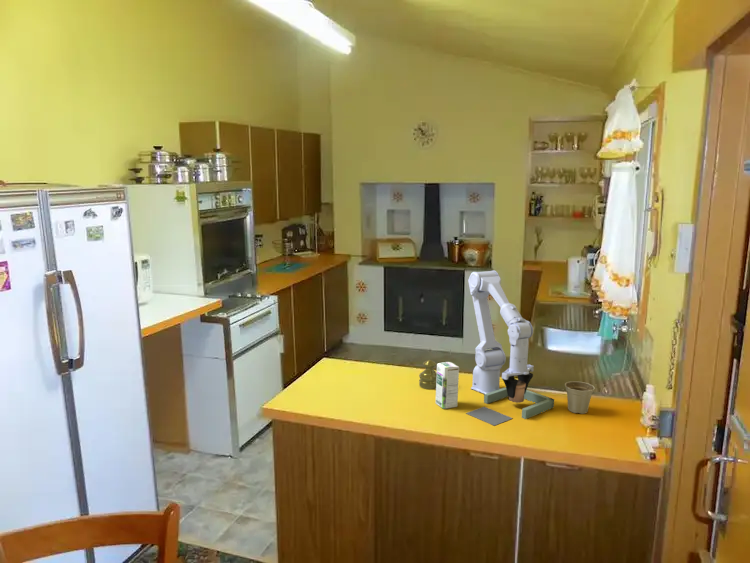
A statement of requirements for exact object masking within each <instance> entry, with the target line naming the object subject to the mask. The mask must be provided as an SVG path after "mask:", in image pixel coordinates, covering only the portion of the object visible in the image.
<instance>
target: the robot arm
mask: <svg viewBox="0 0 750 563" xmlns="http://www.w3.org/2000/svg"><path fill="white" fill-rule="evenodd" d="M467 281H468V287H469V292H470V296H471V297H472V303H473V308H474V314H475V318H476V319H475V320H476V325H477V329H478V335H479V336H478V337H479V340H480V341H479V342H480V343H478V345H477V346H476V347H475V349H474V350H475V355H474V357H475V358H474V360H475V363H476V365H475V367H474V368H473V371H472V386H471V387H470V389H471V390H473V391H476V392H478V393H481V394H483V395H484V394H487V393H490V392H493V391H496V390H499V389H501V388H500V377H501V379H502V381H503V384H504V386H505V387H506V389H507V394H508V397H507V398H509V397H511V398H514V396H515V390H516V386H517V383H518V381H523V382H525V383H526V387H525V391H524V394H525V393H526V390H528V386H529V384H530V382H531V380H532V379H533V377H534V374H533V373H531V372H534V367H535V366H534V365H533V364H532V365H531V364H528V357H529V355H528V354H529V339H531V337H532V336H533V334H534V327H533V325H532V323H531V321H529V320H526V319H525V318H524V317H522V315H521V313H520V312H519V309H518V308H517V306H516V305H515V304H514V303H510V301H509V299H508V298H507V295H506V292H505V291H504V289H503V287H502V285H501V284H502V279H501V277H500V275H499V273H498V271H496V270H486V271H472V272H471V273H470V275H469V278H468V279H467ZM489 295H490V296H492V298H493V299H494V300H495V302H496V303H497V304H498V306H499V307H500V311H499V314H500V316H501V318H502V319H503V321H504V322H505V324H506V326H507V327H508V329H507V335H508V339H509V341H508V342H509V344H510V348H509V349H510V351H509V352H510V354H509V367H508V368H507V369H506V370H505V371H503V372H501V369H503V366H504V365H505V363H506V361H507V358H506V357H507V356H506V354H505V351H504V349H503V345H502V343H500V342H498V341H497V340H496V337H495V332H494V327H493V322H492V317H491V310H490V306H489V300H488V297H489ZM515 377H517V379H516V378H515Z"/></svg>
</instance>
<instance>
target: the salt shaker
mask: <svg viewBox="0 0 750 563" xmlns="http://www.w3.org/2000/svg"><path fill="white" fill-rule="evenodd" d="M422 365H423V366H424V367H425V369H424V370H423V371H422V372H420V373H419V381H418V382H419V387H420V388H422V389H426V390H436V379H437V371H436V370H434V368H435V367H437V363H436V362H435V360H432V359H427V360H425V361H423V362H422Z"/></svg>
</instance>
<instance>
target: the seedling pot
mask: <svg viewBox="0 0 750 563" xmlns="http://www.w3.org/2000/svg"><path fill="white" fill-rule="evenodd" d="M525 387H526V383H525V382H523V381H518V383H517V386H516V390H515V396H514V398H511V397H508V400H509V401H510V402H512V403H517V404H518V403H519V404H521V403H523V402H524V401H525V399H524V391H525Z"/></svg>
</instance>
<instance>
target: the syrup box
mask: <svg viewBox="0 0 750 563" xmlns="http://www.w3.org/2000/svg"><path fill="white" fill-rule="evenodd" d="M436 373H437V379H436V389H435V404H436V406H439V407H440V408H441V409H442V410H446V409H451V408H457V407H458V398H459V396H458V395H459V379H460V378H459V375H460V374H459V373H460V367H459V366H458V365H456V363H453V362H452V361H445V362H444V361H443V362H439V363H436Z"/></svg>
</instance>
